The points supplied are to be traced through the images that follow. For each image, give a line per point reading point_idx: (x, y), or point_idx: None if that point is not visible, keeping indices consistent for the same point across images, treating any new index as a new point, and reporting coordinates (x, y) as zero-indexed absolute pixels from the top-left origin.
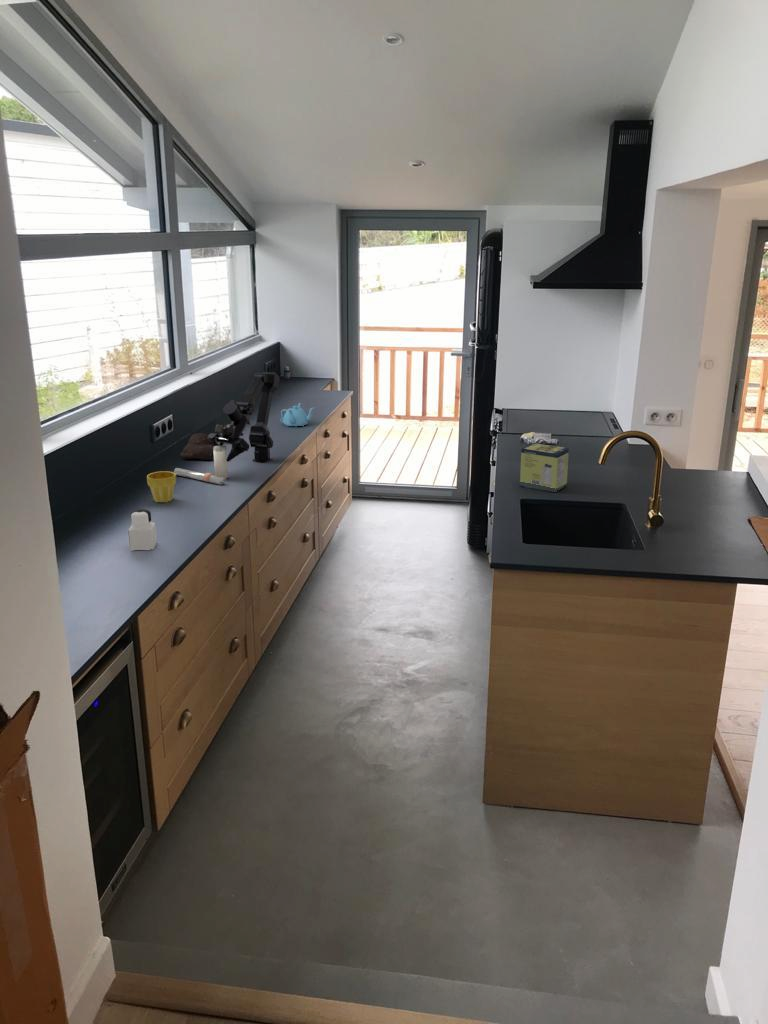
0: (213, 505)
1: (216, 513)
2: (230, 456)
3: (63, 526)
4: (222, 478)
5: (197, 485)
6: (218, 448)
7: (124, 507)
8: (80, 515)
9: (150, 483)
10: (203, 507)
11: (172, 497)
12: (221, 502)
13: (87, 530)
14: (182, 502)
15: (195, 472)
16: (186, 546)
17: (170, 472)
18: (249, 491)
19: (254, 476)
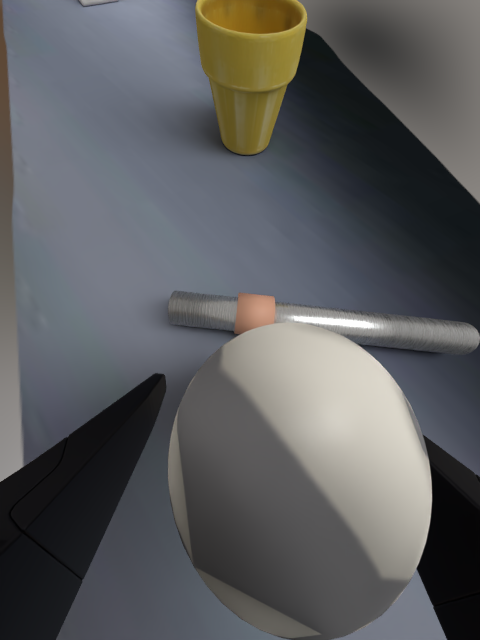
0: (84, 148)
1: (44, 112)
2: (111, 413)
3: None
4: (170, 306)
5: (261, 269)
6: (240, 344)
7: None
8: (314, 50)
9: (254, 21)
10: (104, 132)
11: (222, 137)
12: (73, 171)
13: None
14: (184, 142)
15: (343, 315)
16: (21, 6)
17: (251, 35)
18: (22, 289)
19: None
